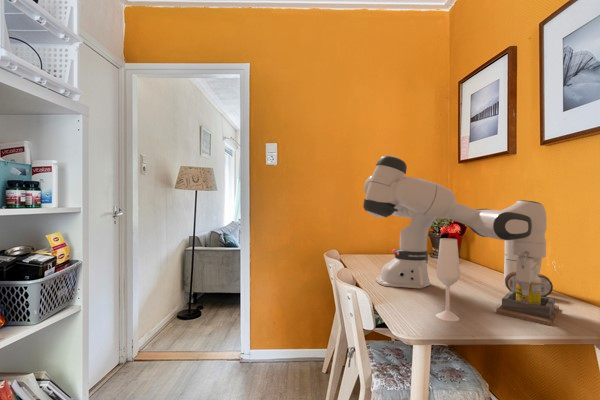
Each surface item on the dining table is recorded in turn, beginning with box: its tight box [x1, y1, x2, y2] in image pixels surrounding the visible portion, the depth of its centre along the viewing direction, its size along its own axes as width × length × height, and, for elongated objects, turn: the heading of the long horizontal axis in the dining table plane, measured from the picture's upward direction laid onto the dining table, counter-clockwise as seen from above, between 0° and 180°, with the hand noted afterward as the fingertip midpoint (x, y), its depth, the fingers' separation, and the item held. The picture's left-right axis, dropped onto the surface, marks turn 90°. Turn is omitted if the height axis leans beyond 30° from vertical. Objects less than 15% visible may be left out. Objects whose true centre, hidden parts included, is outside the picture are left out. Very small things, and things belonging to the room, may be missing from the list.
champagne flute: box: [435, 237, 461, 322], centre depth 99 cm, size 7×7×24 cm
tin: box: [504, 272, 554, 297], centre depth 123 cm, size 15×3×8 cm, turn 65°
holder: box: [495, 290, 560, 326], centre depth 105 cm, size 20×14×4 cm
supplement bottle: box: [516, 268, 541, 305], centre depth 105 cm, size 7×7×13 cm
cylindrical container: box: [503, 240, 518, 285], centre depth 137 cm, size 7×7×25 cm
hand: (528, 292), depth 105 cm, fingers open, 7 cm apart
